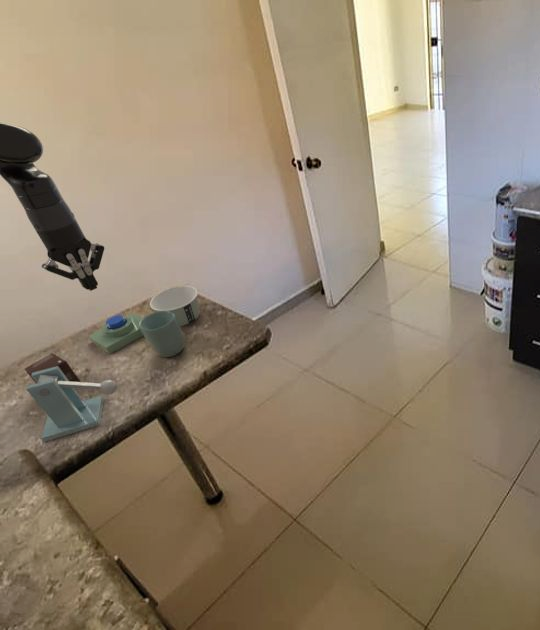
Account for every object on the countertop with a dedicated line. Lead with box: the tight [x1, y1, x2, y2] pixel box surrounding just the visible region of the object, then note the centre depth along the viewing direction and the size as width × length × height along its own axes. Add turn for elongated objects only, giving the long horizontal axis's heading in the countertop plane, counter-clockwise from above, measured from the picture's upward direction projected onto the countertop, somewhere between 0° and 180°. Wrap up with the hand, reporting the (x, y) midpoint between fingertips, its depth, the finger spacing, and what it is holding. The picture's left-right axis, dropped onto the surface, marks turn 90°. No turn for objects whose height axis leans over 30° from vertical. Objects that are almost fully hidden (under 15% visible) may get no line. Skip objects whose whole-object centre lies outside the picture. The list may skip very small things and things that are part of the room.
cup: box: [139, 311, 186, 358], centre depth 107 cm, size 8×8×10 cm
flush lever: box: [38, 375, 118, 396], centre depth 89 cm, size 13×3×3 cm
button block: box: [88, 312, 144, 355], centre depth 114 cm, size 12×9×4 cm
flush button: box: [105, 314, 126, 329], centre depth 113 cm, size 4×4×2 cm
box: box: [24, 352, 82, 384], centre depth 99 cm, size 6×6×7 cm
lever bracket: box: [25, 366, 105, 443], centre depth 89 cm, size 10×8×13 cm
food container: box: [149, 285, 201, 327], centre depth 120 cm, size 12×12×6 cm
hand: (92, 288), depth 105 cm, fingers closed
